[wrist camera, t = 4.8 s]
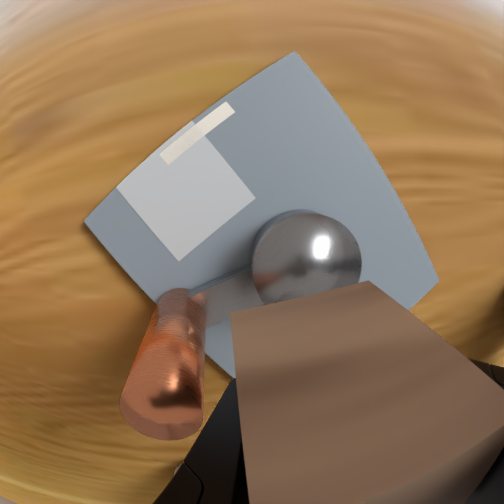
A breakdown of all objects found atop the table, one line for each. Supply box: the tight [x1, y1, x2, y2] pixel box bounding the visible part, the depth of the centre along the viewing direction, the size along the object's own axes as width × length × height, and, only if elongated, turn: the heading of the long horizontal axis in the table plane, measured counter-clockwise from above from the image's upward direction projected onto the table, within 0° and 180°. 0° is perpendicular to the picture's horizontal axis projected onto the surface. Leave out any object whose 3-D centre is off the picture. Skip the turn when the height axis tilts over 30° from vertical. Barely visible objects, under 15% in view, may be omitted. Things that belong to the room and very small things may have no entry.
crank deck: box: [84, 51, 439, 378], centre depth 15 cm, size 16×14×1 cm
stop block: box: [230, 280, 504, 504], centre depth 6 cm, size 4×4×6 cm
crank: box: [119, 209, 362, 440], centre depth 12 cm, size 10×5×8 cm, turn 113°
